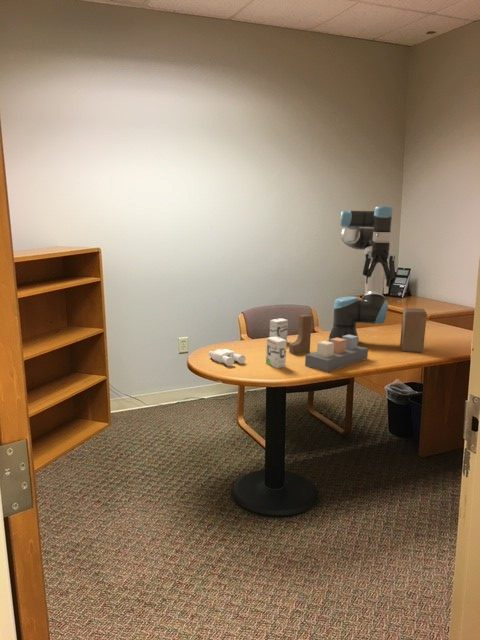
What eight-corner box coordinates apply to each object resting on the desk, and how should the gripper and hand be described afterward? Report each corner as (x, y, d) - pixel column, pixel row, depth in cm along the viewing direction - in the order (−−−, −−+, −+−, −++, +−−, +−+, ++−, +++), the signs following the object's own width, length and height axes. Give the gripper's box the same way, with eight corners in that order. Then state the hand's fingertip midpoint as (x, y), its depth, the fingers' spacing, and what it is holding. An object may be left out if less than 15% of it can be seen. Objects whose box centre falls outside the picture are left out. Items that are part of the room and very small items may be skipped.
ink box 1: (275, 344, 256) (276, 321, 254) (268, 342, 260) (269, 320, 257) (287, 342, 262) (288, 319, 259) (280, 340, 265) (281, 318, 263)
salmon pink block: (329, 354, 227) (330, 339, 226) (336, 352, 230) (337, 337, 229) (338, 356, 224) (339, 341, 222) (345, 354, 227) (346, 339, 225)
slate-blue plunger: (341, 350, 233) (342, 336, 232) (347, 349, 236) (348, 334, 235) (350, 353, 230) (351, 338, 228) (356, 351, 233) (357, 336, 231)
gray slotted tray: (305, 365, 222) (305, 354, 221) (345, 353, 242) (346, 343, 241) (327, 372, 213) (327, 360, 212) (367, 358, 234) (368, 348, 232)
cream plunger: (316, 358, 221) (317, 342, 220) (323, 356, 224) (324, 340, 223) (326, 360, 217) (326, 344, 216) (333, 358, 221) (334, 342, 219)
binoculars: (226, 367, 218) (226, 357, 217) (206, 358, 231) (206, 348, 230) (245, 363, 224) (246, 353, 223) (224, 355, 237) (225, 345, 236)
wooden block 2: (423, 353, 245) (427, 312, 241) (401, 351, 247) (405, 311, 243) (420, 347, 255) (424, 308, 251) (399, 346, 257) (403, 307, 252)
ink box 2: (265, 363, 224) (266, 337, 222) (274, 361, 227) (275, 336, 225) (277, 368, 217) (277, 341, 215) (286, 366, 220) (287, 340, 217)
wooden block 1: (293, 354, 238) (294, 317, 234) (288, 352, 242) (290, 315, 239) (310, 353, 242) (311, 316, 238) (305, 350, 246) (307, 314, 242)
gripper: (356, 240, 232) (353, 290, 237) (397, 243, 217) (393, 296, 222) (365, 240, 237) (362, 288, 242) (406, 242, 222) (402, 294, 227)
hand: (377, 292), depth 232 cm, fingers open, 8 cm apart
